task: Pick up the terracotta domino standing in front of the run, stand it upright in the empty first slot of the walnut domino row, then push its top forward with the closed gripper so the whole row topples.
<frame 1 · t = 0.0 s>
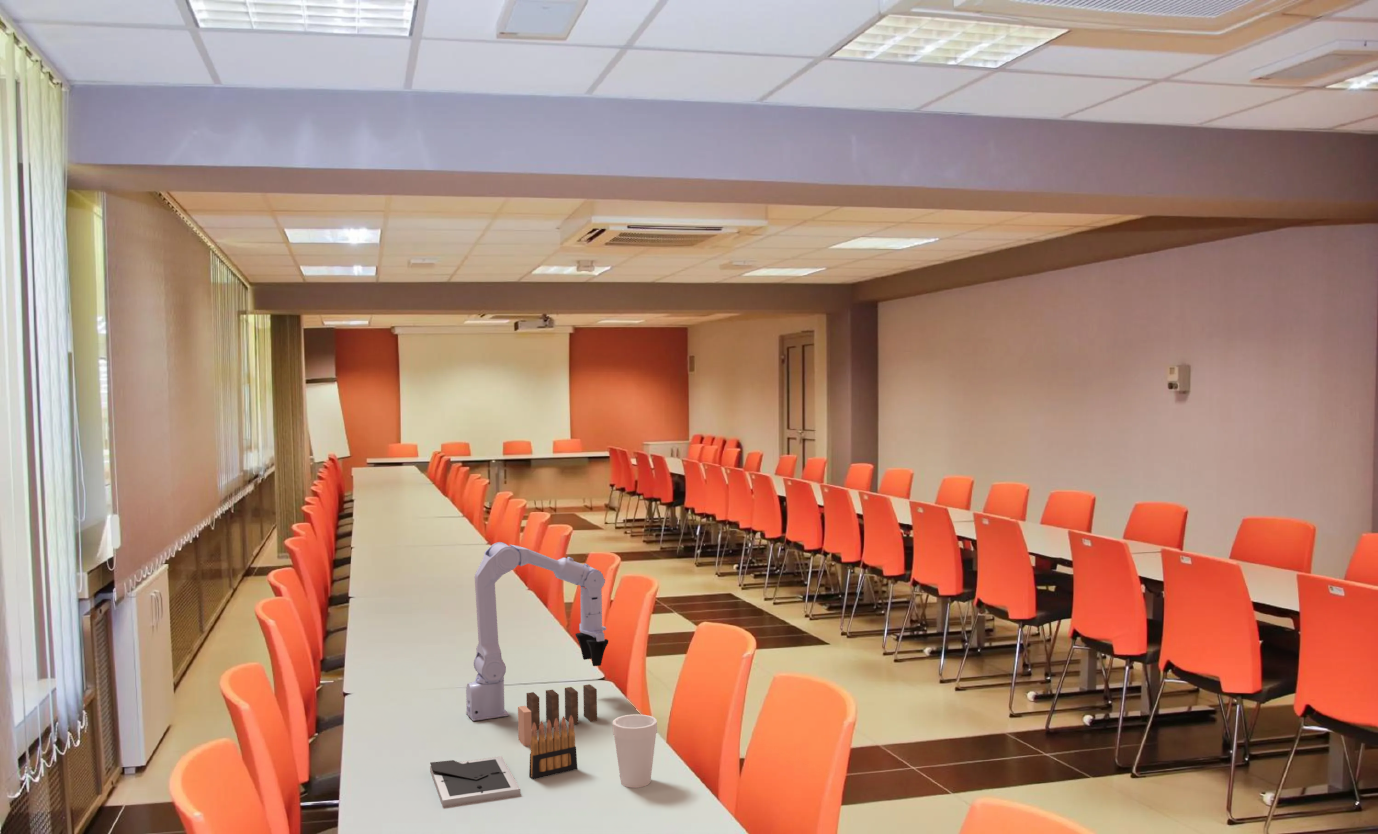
hand: (592, 662, 278), 10 cm above the table, fingers open, 7 cm apart
picture frame: (474, 787, 219), on the table
tile 3: (552, 724, 258), on the table
tile 5: (590, 718, 262), on the table
tile 2: (533, 727, 256), on the table
ammunition clip: (553, 773, 224), on the table
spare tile: (525, 742, 244), on the table
tile 4: (571, 721, 260), on the table
foam cup: (635, 782, 219), on the table
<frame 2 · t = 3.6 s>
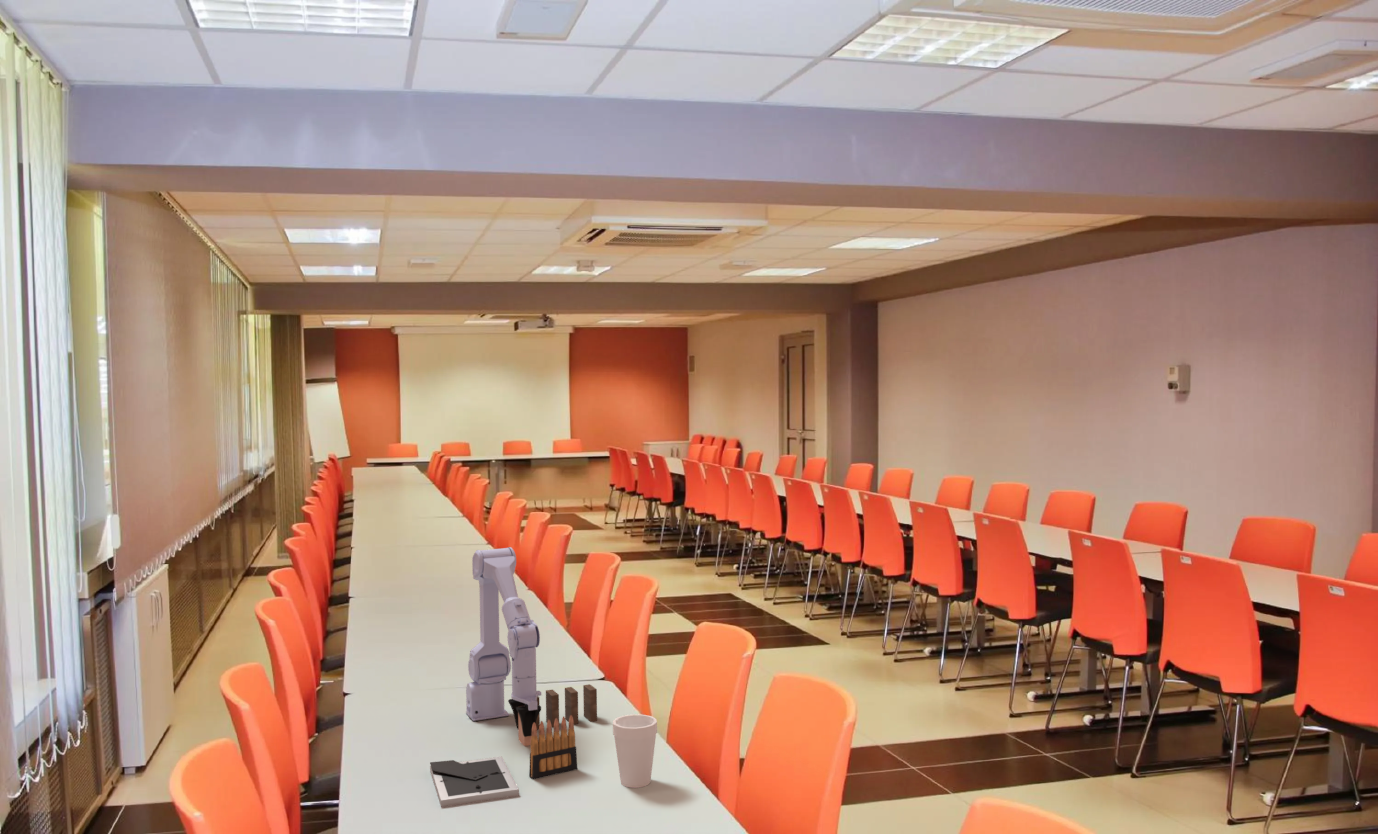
hand: (524, 732, 244), 2 cm above the table, fingers closed on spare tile, 5 cm apart
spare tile: (525, 742, 244), on the table, touching gripper
everything else where it was.
when the fingers open (3 cm above the table, at t = 7.9 s): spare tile stays where it is, on the table.
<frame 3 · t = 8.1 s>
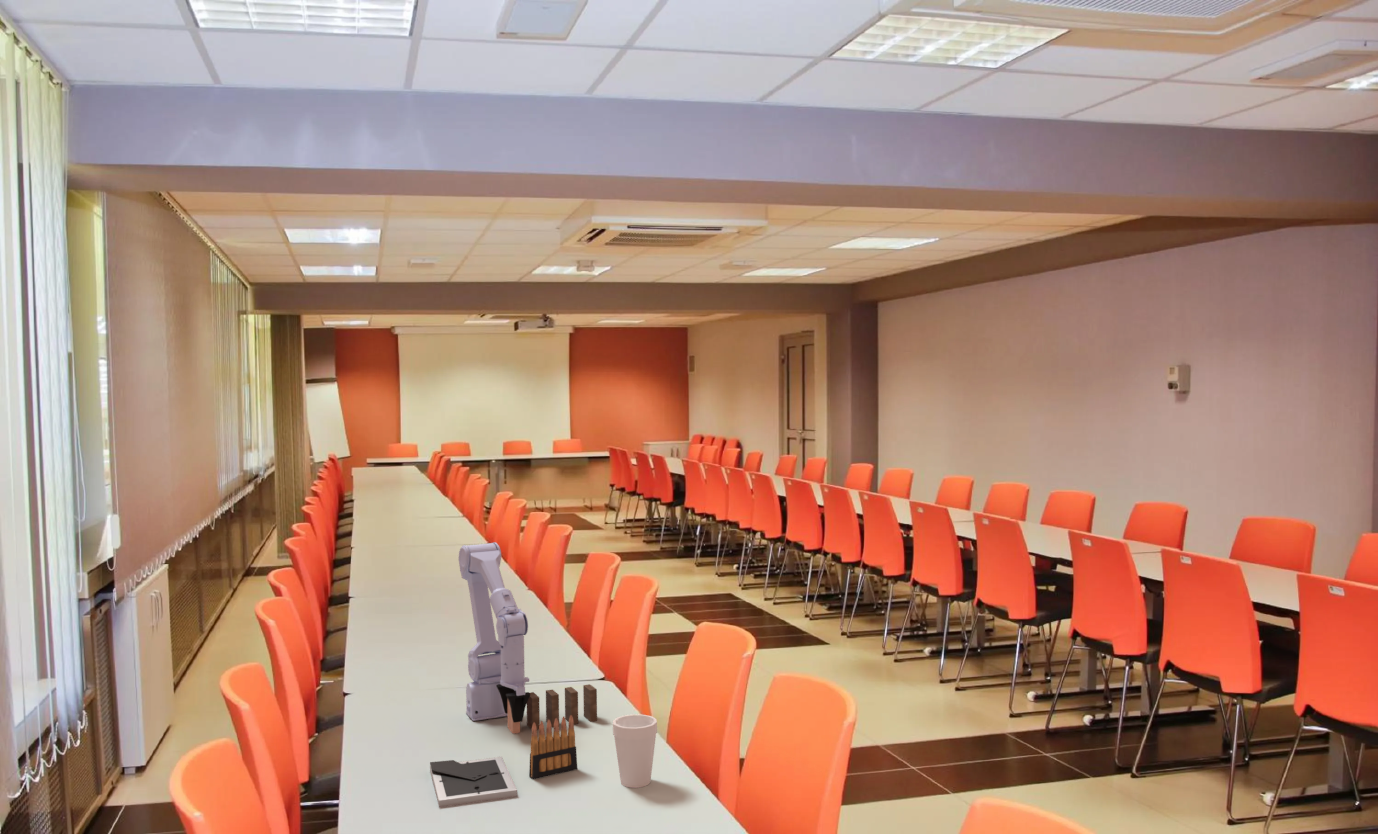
hand: (513, 717, 253), 3 cm above the table, fingers open, 7 cm apart
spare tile: (513, 730, 253), on the table
everything else where it was.
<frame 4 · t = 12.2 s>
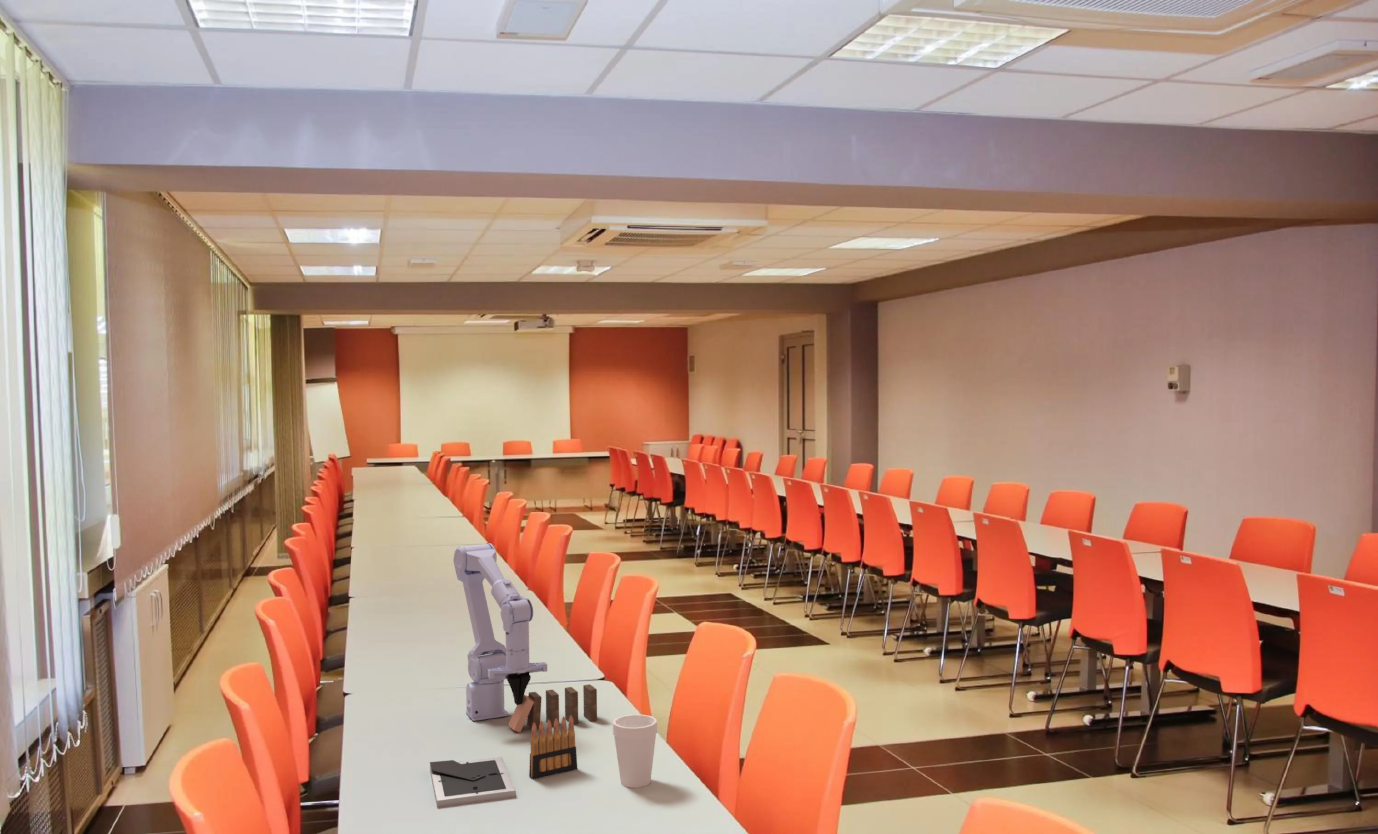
hand: (518, 703, 254), 6 cm above the table, fingers closed
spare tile: (514, 728, 253), on the table, tilted 27°
everything else where it was.
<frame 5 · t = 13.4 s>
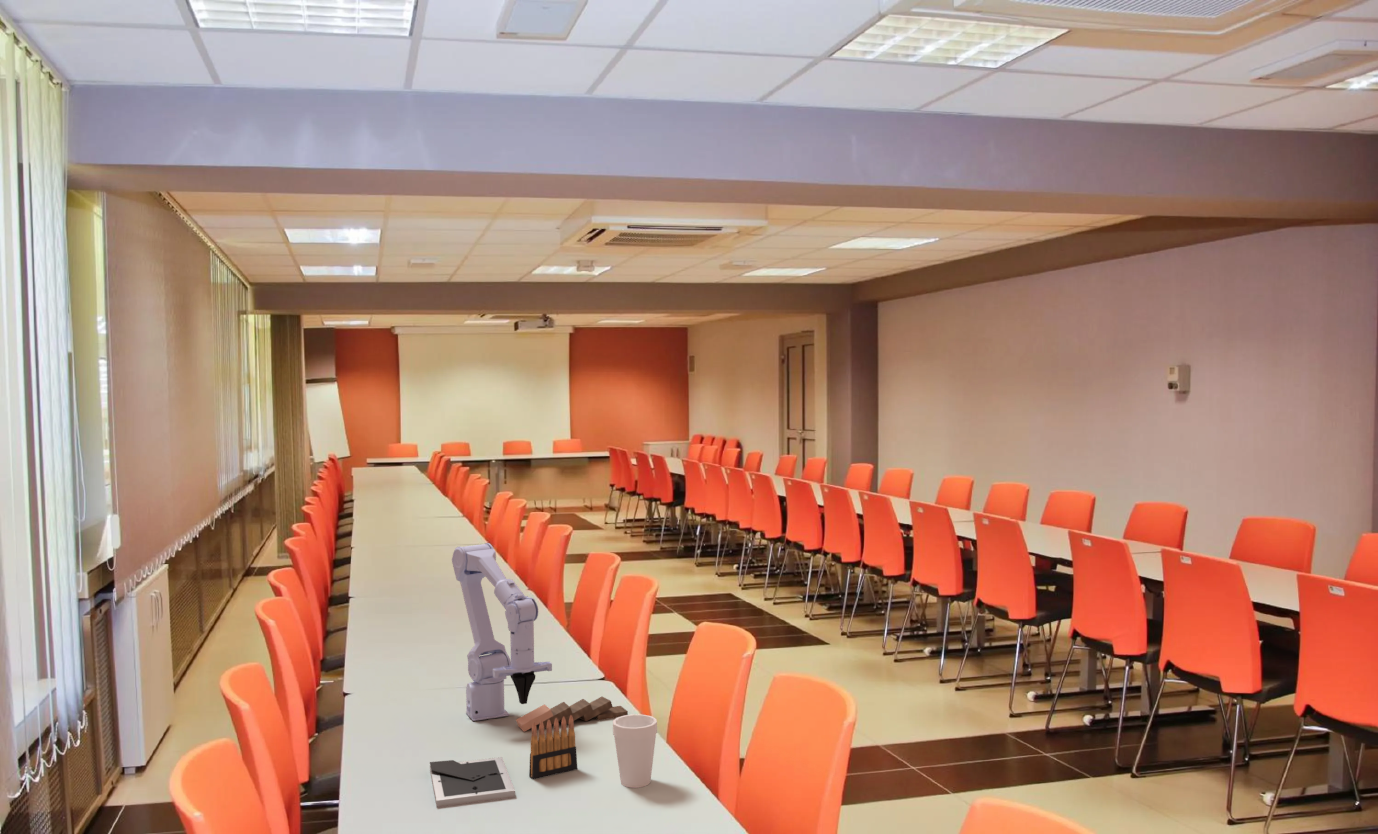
hand: (523, 702, 254), 6 cm above the table, fingers closed
tile 3: (560, 719, 258), point 1 cm above the table, tilted 70°, touching tile 2, tile 4
tile 5: (594, 716, 263), on the table, tilted 90°, touching tile 4
tile 2: (539, 722, 256), point 1 cm above the table, tilted 70°, touching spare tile, tile 3
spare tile: (519, 725, 254), point 1 cm above the table, tilted 70°, touching tile 2
tile 4: (580, 715, 261), point 1 cm above the table, tilted 73°, touching tile 3, tile 5
everything else where it was.
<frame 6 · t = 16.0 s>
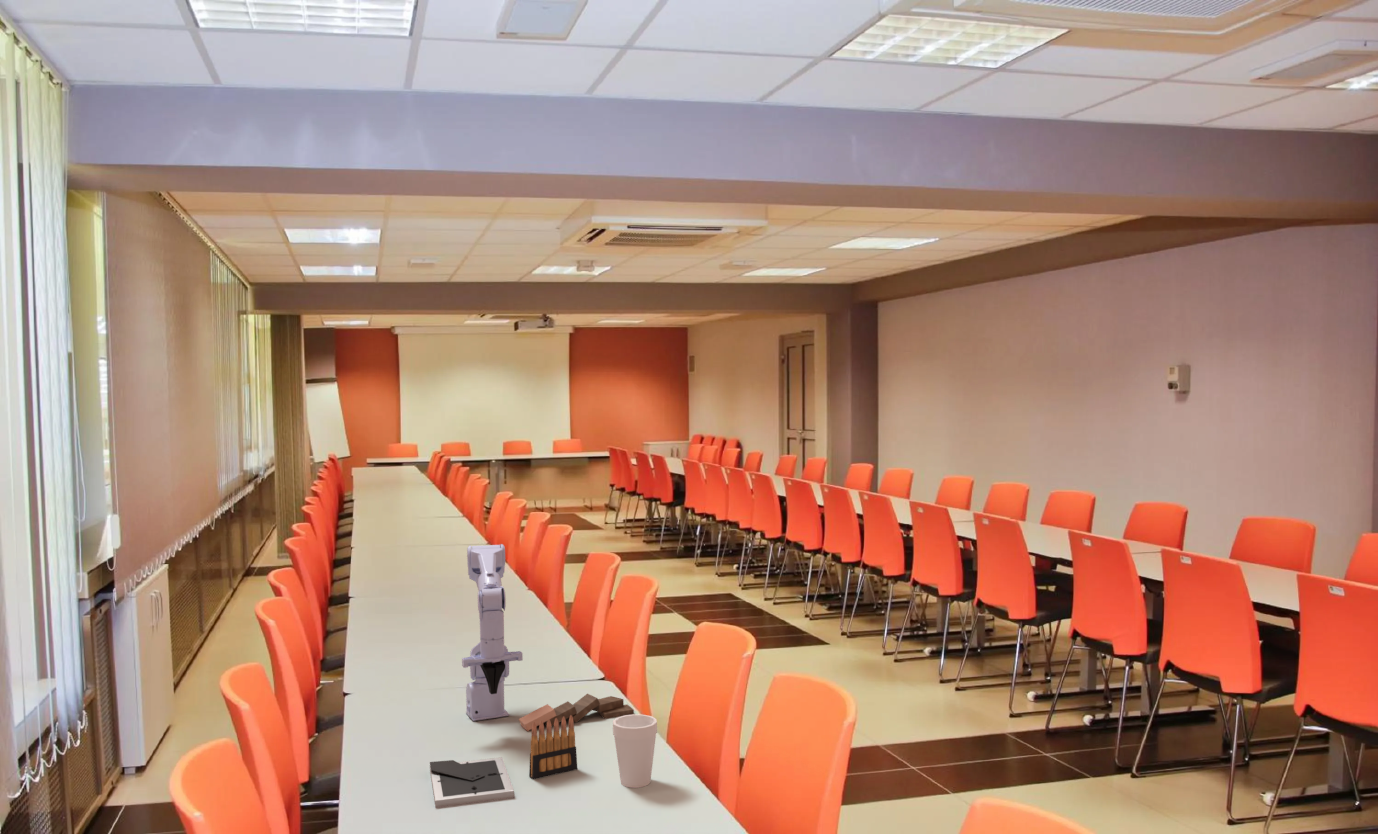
hand: (493, 692, 251), 10 cm above the table, fingers closed
tile 3: (569, 717, 260), point 1 cm above the table, tilted 64°, touching tile 4
tile 5: (601, 714, 264), on the table, tilted 90°, touching tile 4
tile 2: (544, 721, 257), point 1 cm above the table, tilted 71°, touching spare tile
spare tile: (522, 724, 255), point 1 cm above the table, tilted 71°, touching tile 2
tile 4: (593, 706, 264), point 2 cm above the table, tilted 92°, touching tile 3, tile 5
everything else where it was.
at the end: tile 5 tilted 90°; tile 3 tilted 64°; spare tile inside the target area (1.1 cm from its centre), point 0.8 cm above the table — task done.
